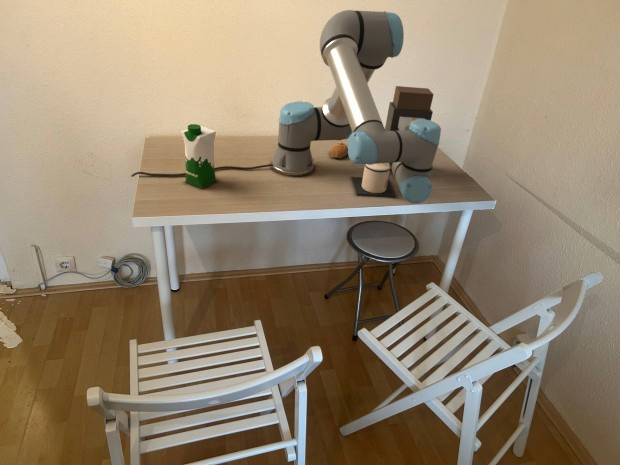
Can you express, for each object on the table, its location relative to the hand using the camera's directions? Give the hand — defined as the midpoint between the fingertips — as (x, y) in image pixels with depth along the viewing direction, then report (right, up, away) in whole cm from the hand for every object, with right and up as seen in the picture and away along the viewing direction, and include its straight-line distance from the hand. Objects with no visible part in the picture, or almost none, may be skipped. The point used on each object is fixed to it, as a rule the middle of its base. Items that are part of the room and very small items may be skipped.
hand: (389, 135), depth 146 cm
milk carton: (-61, -13, +13) cm, 64 cm away
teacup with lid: (-3, -14, +20) cm, 25 cm away
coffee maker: (+10, -7, +33) cm, 35 cm away
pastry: (-13, +1, +42) cm, 44 cm away
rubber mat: (-3, -14, +21) cm, 25 cm away
